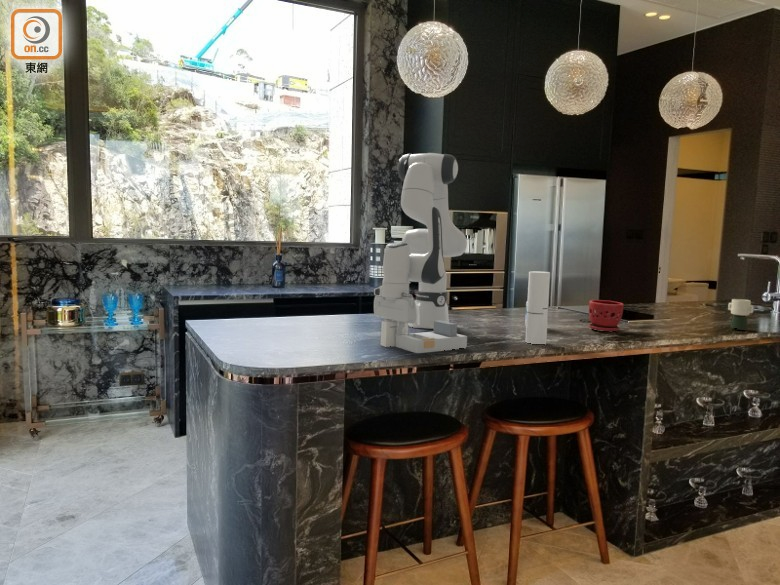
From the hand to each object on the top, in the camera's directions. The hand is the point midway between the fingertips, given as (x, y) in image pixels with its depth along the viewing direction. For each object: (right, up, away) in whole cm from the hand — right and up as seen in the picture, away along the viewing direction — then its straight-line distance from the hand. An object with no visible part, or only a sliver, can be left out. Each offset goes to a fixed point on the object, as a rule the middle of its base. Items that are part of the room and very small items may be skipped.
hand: (393, 333), depth 198 cm
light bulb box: (+57, -2, +45) cm, 73 cm away
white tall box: (+50, -4, +12) cm, 52 cm away
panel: (0, -4, +1) cm, 4 cm away
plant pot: (+86, -2, +45) cm, 97 cm away
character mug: (+148, -3, +58) cm, 159 cm away
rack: (+12, -5, -1) cm, 13 cm away
